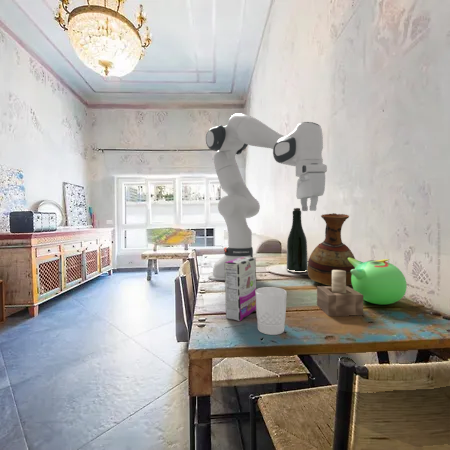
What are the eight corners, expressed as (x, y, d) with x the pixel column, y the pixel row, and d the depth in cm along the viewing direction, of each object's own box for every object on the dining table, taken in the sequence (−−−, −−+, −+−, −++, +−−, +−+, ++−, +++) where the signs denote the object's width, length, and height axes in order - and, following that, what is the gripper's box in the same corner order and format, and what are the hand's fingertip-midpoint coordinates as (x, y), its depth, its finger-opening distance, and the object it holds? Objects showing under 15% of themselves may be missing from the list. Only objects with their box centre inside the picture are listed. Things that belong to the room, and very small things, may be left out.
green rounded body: (414, 314, 79) (415, 264, 78) (351, 308, 84) (351, 261, 84) (396, 296, 96) (397, 255, 95) (344, 293, 101) (345, 253, 101)
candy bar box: (243, 307, 87) (242, 256, 86) (257, 310, 84) (256, 257, 83) (224, 318, 77) (223, 261, 77) (239, 322, 74) (239, 262, 74)
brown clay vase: (310, 289, 107) (310, 213, 106) (304, 277, 127) (304, 213, 126) (364, 291, 103) (364, 212, 102) (349, 279, 123) (349, 213, 122)
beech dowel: (334, 312, 81) (334, 272, 81) (329, 307, 85) (329, 269, 85) (348, 312, 81) (348, 272, 81) (342, 307, 85) (342, 269, 85)
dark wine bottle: (296, 268, 148) (296, 208, 147) (311, 271, 140) (311, 207, 138) (282, 270, 143) (282, 208, 142) (297, 274, 134) (297, 207, 133)
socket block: (328, 316, 78) (328, 295, 78) (317, 304, 88) (317, 286, 88) (363, 315, 78) (363, 295, 78) (347, 304, 88) (347, 286, 88)
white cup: (267, 339, 64) (267, 297, 64) (249, 327, 71) (249, 289, 71) (293, 332, 68) (293, 292, 67) (273, 321, 75) (273, 285, 74)
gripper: (292, 174, 103) (292, 211, 104) (308, 165, 83) (308, 210, 83) (309, 174, 103) (308, 211, 104) (329, 165, 83) (328, 210, 83)
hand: (308, 210), depth 93 cm, fingers open, 8 cm apart
